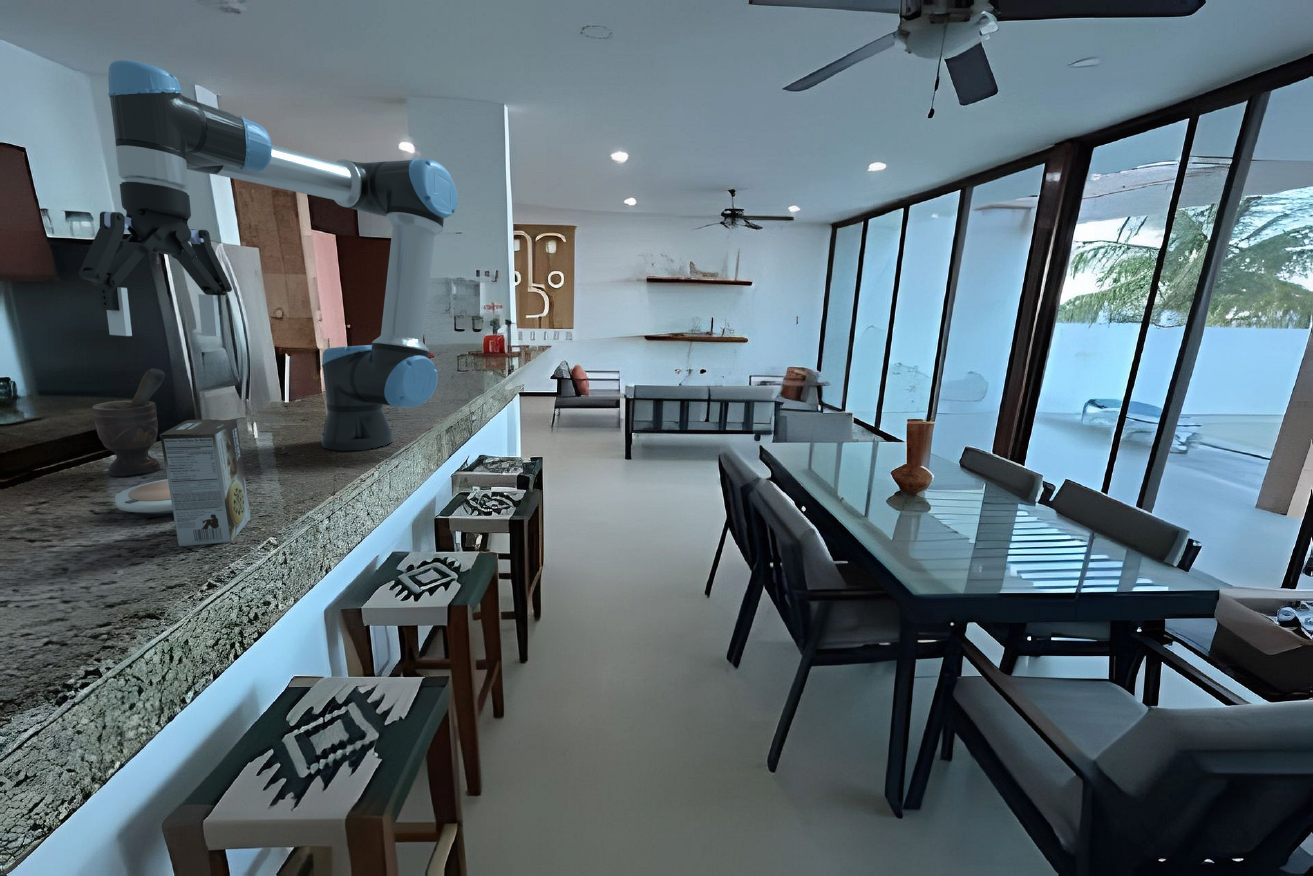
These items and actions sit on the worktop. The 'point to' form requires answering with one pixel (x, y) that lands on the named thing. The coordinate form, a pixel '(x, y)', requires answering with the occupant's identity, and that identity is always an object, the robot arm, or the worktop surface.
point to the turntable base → (156, 514)
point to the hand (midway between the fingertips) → (169, 335)
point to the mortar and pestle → (131, 428)
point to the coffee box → (206, 481)
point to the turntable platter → (145, 498)
